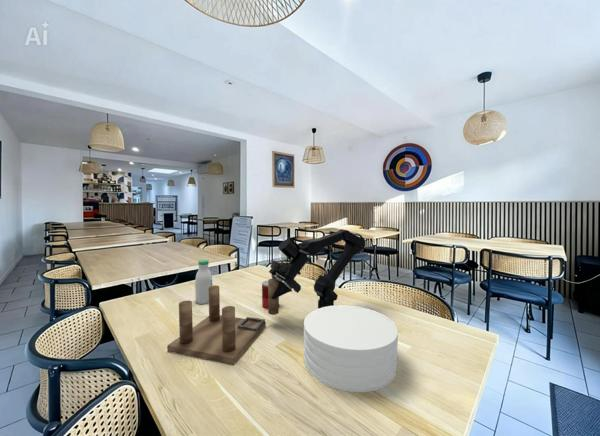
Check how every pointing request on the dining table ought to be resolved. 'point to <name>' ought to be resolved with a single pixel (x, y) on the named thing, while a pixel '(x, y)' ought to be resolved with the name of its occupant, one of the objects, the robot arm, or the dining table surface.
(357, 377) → the plate stack
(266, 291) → the canned food
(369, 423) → the dining table surface
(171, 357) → the dining table surface
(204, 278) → the milk bottle
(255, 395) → the dining table surface
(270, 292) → the stool leg
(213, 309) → the peg board
